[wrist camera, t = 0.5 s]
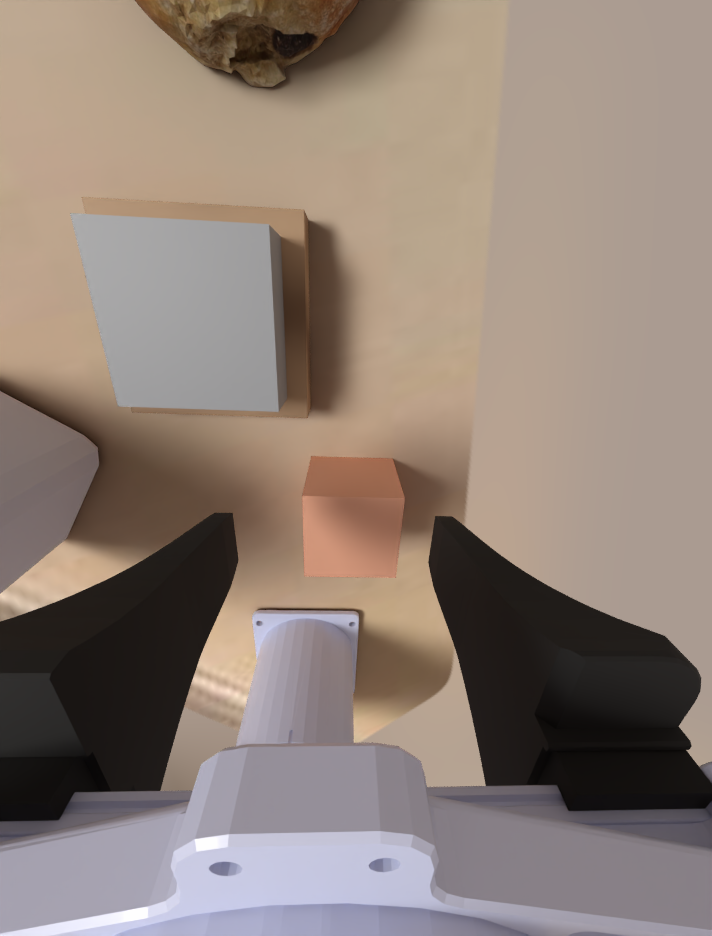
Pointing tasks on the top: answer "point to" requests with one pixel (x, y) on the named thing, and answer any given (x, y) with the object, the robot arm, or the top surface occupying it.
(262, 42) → the bread roll
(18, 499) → the soap bottle
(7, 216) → the top surface
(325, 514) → the terracotta cube
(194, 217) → the walnut slab
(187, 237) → the grey slab
